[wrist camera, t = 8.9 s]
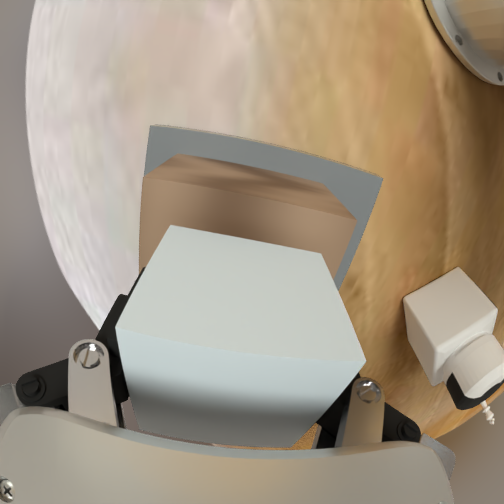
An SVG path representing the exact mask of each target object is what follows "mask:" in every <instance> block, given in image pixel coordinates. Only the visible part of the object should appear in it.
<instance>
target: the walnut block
mask: <svg viewBox="0 0 504 504" xmlns="http://www.w3.org/2000/svg"><path fill="white" fill-rule="evenodd" d="M356 223H357V220H356V218H355V217H354V216H353V215H352V214H351V213H350V212H349V211H348V210H347V208H346V207H345V206H344V205H343V204H342V203H341V202H340V201H339V200H338V199H337V198H336V197H335V196H334V195H333V194H332V192H331V191H330V190H329V189H328V188H327V187H326V186H325V185H324V184H323V183H319V182H316V181H312V180H308V179H304V178H300V177H296V176H292V175H288V174H284V173H279V172H275V171H271V170H266V169H261V168H257V167H252V166H247V165H242V164H237V163H232V162H227V161H221V160H216V159H210V158H204V157H198V156H192V155H185V154H179V153H178V154H176V155H174V156H173V157H171V158H170V159H168V160H167V161H165V162H164V163H162V164H161V165H160V166H158V167H157V168H155V169H154V170H152V171H151V172H150V173H148V174H147V175H145V176H144V177H143V184H142V196H141V211H140V234H139V274H140V272H141V270H142V269H143V267H146V266H147V264H148V263H149V261H150V259H151V257H152V256H153V254H154V252H155V250H156V249H157V247H158V245H159V243H160V242H161V240H162V238H163V236H164V235H165V233H166V231H167V230H168V228H169V226H170V225H174V226H180V227H185V228H191V229H196V230H202V231H207V232H212V233H218V234H223V235H228V236H234V237H239V238H244V239H250V240H255V241H260V242H265V243H270V244H276V245H281V246H286V247H291V248H296V249H301V250H306V251H311V252H316V253H321V254H322V257H323V259H324V261H325V263H326V265H327V268H328V270H329V272H330V274H331V276H332V279H333V280H334V277H335V275H336V273H337V270H338V268H339V266H340V263H341V261H342V258H343V256H344V254H345V251H346V249H347V246H348V244H349V241H350V239H351V236H352V234H353V231H354V228H355V226H356Z"/></svg>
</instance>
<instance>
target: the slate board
mask: <svg viewBox="0 0 504 504" xmlns="http://www.w3.org/2000/svg"><path fill="white" fill-rule="evenodd" d="M178 153H179V154H185V155H192V156H198V157H204V158H210V159H216V160H221V161H227V162H232V163H237V164H242V165H247V166H252V167H257V168H261V169H266V170H271V171H275V172H279V173H284V174H288V175H292V176H296V177H300V178H304V179H308V180H312V181H316V182H319V183H323V184H324V185H325V186H326V187H327V188H328V189H329V190H330V191H331V192H332V194H333V195H334V196H335V197H336V198H337V199H338V200H339V201H340V202H341V203H342V204H343V205H344V206H345V207H346V208H347V210H348V211H349V212H350V213H351V214H352V215H353V216H354V217H355V218H356V220H357V223H356V226H355V228H354V231H353V234H352V236H351V239H350V241H349V244H348V246H347V249H346V251H345V254H344V256H343V258H342V261H341V263H340V266H339V268H338V270H337V273H336V275H335V277H334V280H333V281H334V283H335V286H336V288H337V290H338V291H339V288H340V286H341V284H342V282H343V280H344V277H345V275H346V273H347V271H348V268H349V266H350V264H351V262H352V259H353V257H354V255H355V252H356V250H357V247H358V245H359V243H360V240H361V238H362V235H363V233H364V230H365V228H366V225H367V222H368V220H369V217H370V215H371V212H372V209H373V207H374V204H375V201H376V198H377V195H378V193H379V190H380V187H381V184H382V181H383V178H381V177H380V176H378V175H376V174H374V173H371V172H368V171H365V170H362V169H359V168H356V167H353V166H350V165H347V164H344V163H341V162H338V161H334V160H331V159H328V158H324V157H321V156H317V155H314V154H310V153H306V152H303V151H299V150H295V149H291V148H287V147H283V146H279V145H275V144H271V143H266V142H262V141H257V140H252V139H248V138H243V137H238V136H232V135H227V134H221V133H215V132H209V131H203V130H197V129H190V128H182V127H174V126H166V125H157V124H156V125H151V126H150V131H149V138H148V145H147V153H146V162H145V171H144V176H145V175H147V174H148V173H150V172H151V171H152V170H154V169H155V168H157V167H158V166H160V165H161V164H162V163H164V162H165V161H167V160H168V159H170V158H171V157H173V156H174V155H176V154H178Z"/></svg>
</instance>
